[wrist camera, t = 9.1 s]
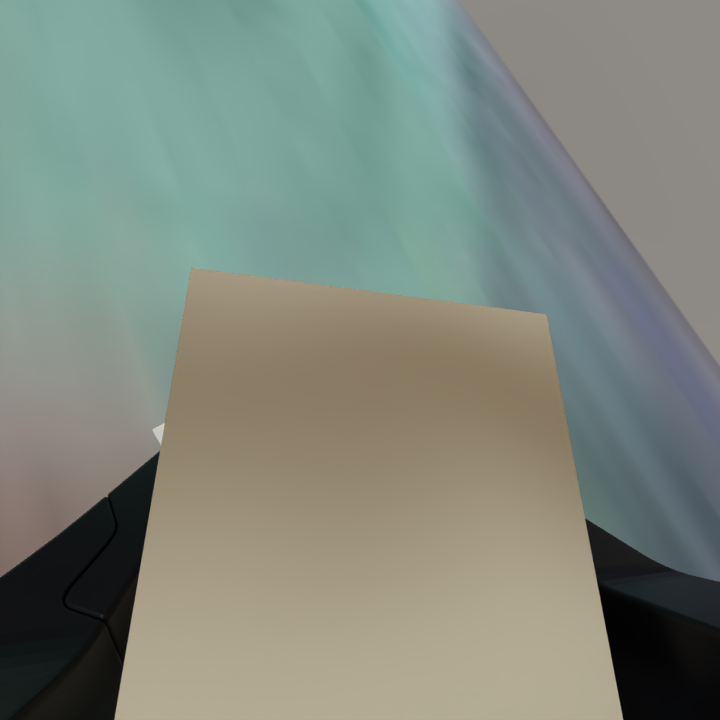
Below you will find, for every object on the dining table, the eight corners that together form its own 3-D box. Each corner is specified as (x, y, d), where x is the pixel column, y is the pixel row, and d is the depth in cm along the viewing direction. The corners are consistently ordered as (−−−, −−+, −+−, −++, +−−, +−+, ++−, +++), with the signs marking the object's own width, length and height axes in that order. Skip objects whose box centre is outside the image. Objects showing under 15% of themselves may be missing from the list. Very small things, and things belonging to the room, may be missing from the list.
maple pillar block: (355, 515, 14) (625, 731, 3) (242, 522, 13) (84, 903, 2) (355, 409, 16) (546, 314, 5) (253, 406, 15) (191, 268, 4)
